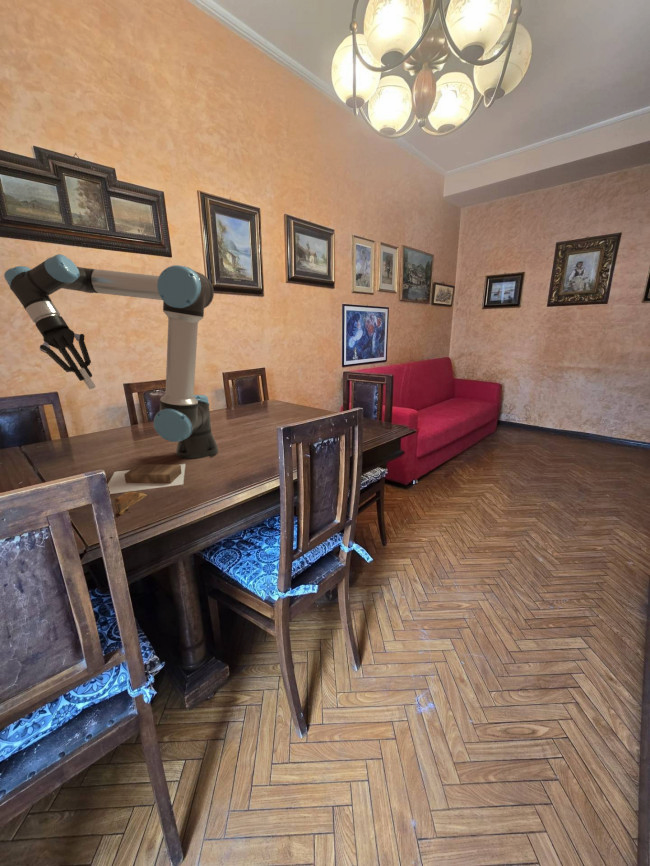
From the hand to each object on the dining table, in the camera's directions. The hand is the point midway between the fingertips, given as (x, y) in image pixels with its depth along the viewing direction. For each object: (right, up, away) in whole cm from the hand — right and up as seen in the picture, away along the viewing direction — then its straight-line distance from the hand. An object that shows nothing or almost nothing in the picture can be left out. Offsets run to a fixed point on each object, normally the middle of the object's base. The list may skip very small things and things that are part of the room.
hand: (92, 387), depth 114 cm
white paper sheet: (+19, -30, -2) cm, 36 cm away
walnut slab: (+14, -28, -3) cm, 31 cm away
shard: (+22, -35, -17) cm, 45 cm away
